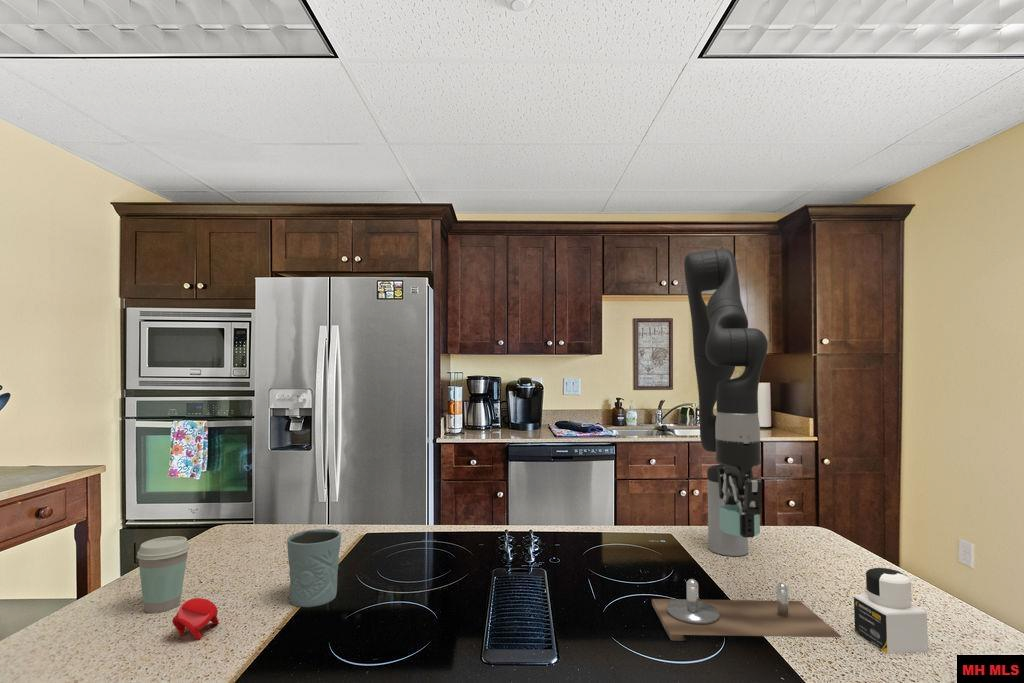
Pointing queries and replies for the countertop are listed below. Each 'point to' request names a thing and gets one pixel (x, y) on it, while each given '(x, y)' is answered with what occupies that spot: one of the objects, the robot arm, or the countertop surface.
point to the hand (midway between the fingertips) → (739, 530)
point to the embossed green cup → (313, 566)
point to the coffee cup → (162, 572)
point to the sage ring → (734, 520)
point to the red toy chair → (195, 616)
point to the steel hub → (693, 608)
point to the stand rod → (782, 600)
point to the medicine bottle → (890, 613)
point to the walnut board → (748, 620)
